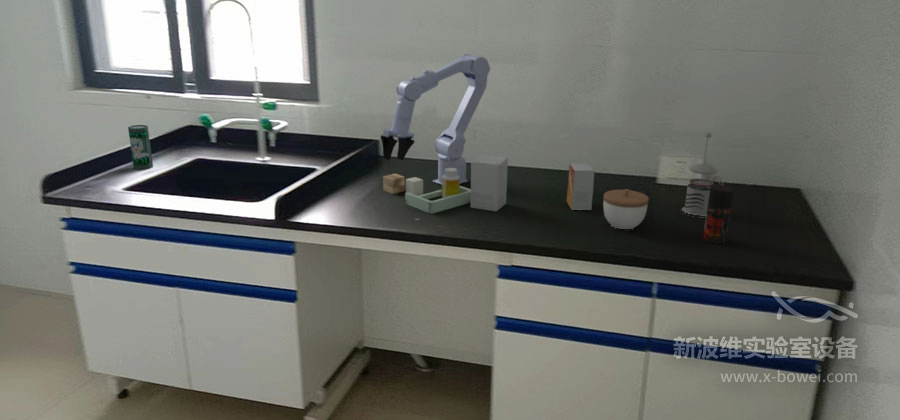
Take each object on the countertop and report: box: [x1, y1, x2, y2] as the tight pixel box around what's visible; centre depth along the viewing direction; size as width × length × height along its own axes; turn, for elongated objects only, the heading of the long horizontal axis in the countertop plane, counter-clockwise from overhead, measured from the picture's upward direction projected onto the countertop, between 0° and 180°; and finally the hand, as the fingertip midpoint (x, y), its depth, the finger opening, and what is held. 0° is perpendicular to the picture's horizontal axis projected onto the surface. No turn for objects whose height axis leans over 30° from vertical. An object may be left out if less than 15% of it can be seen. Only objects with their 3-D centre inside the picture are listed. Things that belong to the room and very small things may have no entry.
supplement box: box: [470, 154, 509, 212], centre depth 214 cm, size 9×9×15 cm
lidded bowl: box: [602, 188, 650, 230], centre depth 200 cm, size 13×13×11 cm
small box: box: [566, 162, 596, 212], centre depth 215 cm, size 8×6×13 cm
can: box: [127, 124, 154, 171], centre depth 249 cm, size 6×6×15 cm
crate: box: [404, 185, 471, 215], centre depth 218 cm, size 18×12×4 cm
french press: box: [681, 132, 724, 216], centre depth 209 cm, size 10×12×25 cm
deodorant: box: [702, 184, 735, 242], centre depth 190 cm, size 6×6×15 cm
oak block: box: [382, 173, 406, 195], centre depth 229 cm, size 5×5×5 cm
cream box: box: [405, 176, 424, 196], centre depth 226 cm, size 4×4×5 cm
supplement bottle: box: [441, 168, 461, 198], centre depth 219 cm, size 6×6×10 cm
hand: (393, 159), depth 225 cm, fingers open, 7 cm apart
